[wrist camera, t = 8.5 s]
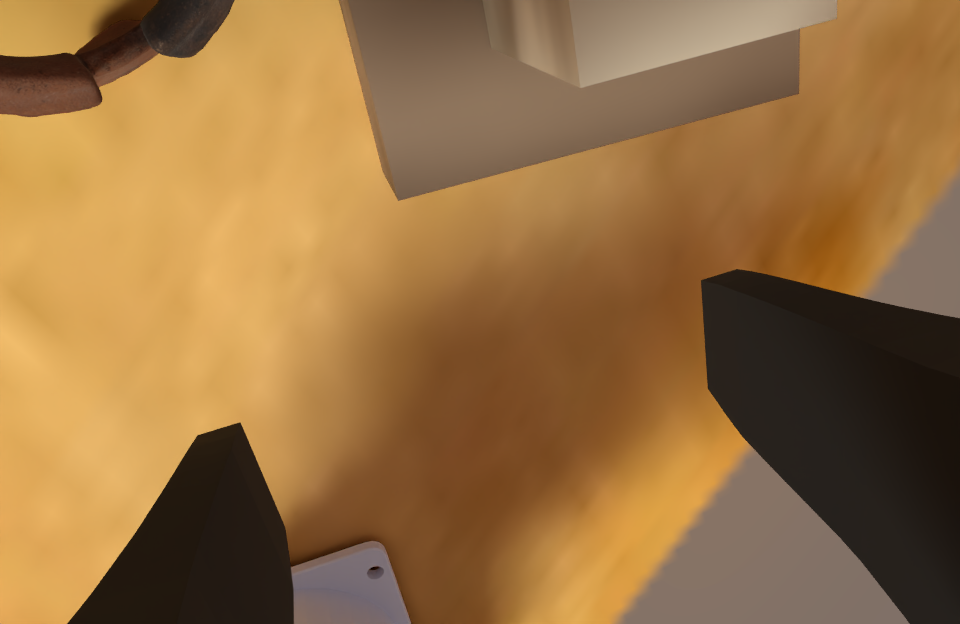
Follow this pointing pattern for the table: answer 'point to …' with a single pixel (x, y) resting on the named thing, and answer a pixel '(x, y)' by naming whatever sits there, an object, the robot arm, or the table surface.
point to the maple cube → (635, 31)
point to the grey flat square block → (524, 94)
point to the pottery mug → (106, 58)
